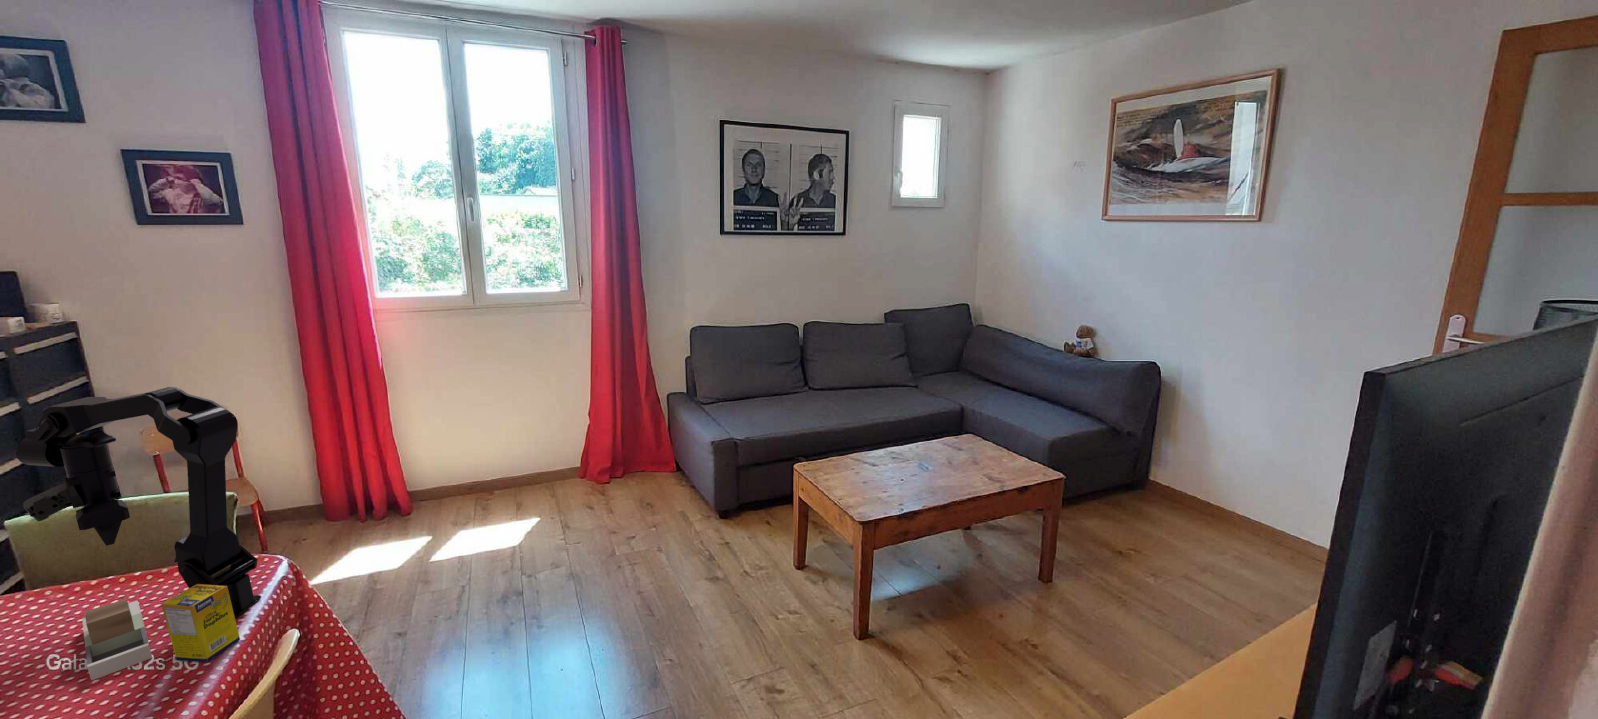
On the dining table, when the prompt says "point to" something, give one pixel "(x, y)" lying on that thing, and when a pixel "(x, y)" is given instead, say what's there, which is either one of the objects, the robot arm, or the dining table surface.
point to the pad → (116, 638)
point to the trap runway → (118, 652)
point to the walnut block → (109, 621)
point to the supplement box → (201, 622)
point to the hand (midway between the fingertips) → (110, 544)
